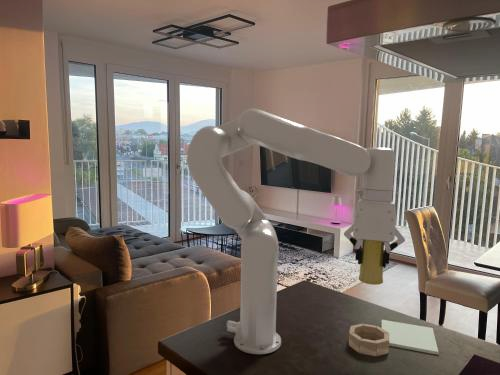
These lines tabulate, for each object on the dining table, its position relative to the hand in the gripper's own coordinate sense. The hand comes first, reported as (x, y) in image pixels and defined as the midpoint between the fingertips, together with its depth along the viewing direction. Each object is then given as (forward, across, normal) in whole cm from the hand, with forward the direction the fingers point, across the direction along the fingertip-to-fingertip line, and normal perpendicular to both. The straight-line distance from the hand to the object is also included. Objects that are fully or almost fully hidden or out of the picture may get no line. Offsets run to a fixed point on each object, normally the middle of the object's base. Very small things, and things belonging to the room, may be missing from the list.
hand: (371, 264), depth 98 cm
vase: (+5, 0, 0) cm, 5 cm away
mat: (+22, +11, +9) cm, 26 cm away
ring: (+22, +1, 0) cm, 22 cm away
